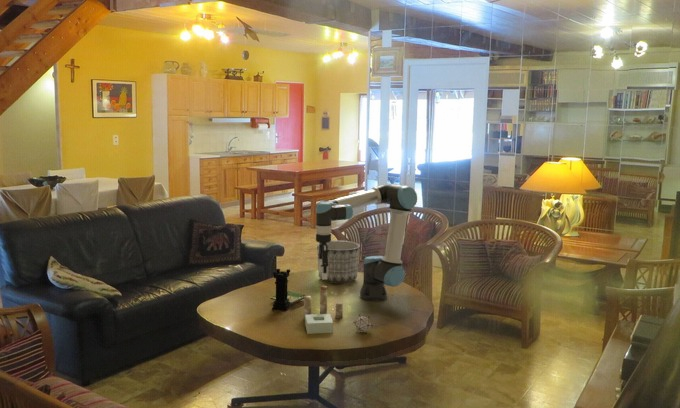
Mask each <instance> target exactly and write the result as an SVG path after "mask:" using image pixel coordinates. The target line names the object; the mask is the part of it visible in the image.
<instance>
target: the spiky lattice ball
mask: <svg viewBox="0 0 680 408" xmlns="http://www.w3.org/2000/svg"><path fill="white" fill-rule="evenodd" d="M358 316H359V317H357V319H356V320H355V321H353V322H352V324H354V325H355V327H356V328H355V329H356V333H358V332H360V333H361V332H362V333H365V334H366V335H367V334H368V333H367V332H368V331H369V330H370V328H371V327H373V326H374V325H373V324H372V323H371V320H370V315H368V317H367V316H363V315H361V314H360V313H359V315H358Z"/></svg>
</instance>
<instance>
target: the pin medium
mask: <svg viewBox="0 0 680 408" xmlns="http://www.w3.org/2000/svg"><path fill="white" fill-rule="evenodd" d="M311 314H312V296H311V295H304V297H303V319H304V320H305V315H311Z"/></svg>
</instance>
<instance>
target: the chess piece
mask: <svg viewBox="0 0 680 408" xmlns="http://www.w3.org/2000/svg"><path fill="white" fill-rule="evenodd" d="M290 272H291V269H286V270H285V271H282V270H281V269H280V268H276V270H275V271H274V270H273V272H272V275H273V278H274V279H275V282H274V284H275V300H274V301H273V305H272V307H271V310H273V311H282V312H284V311H285V312H287V311H288V310H289V309H290V308H291V307H292V304H291V301H290V299H289V298H288V283H289V279H288V277H290Z"/></svg>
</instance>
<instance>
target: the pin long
mask: <svg viewBox="0 0 680 408" xmlns="http://www.w3.org/2000/svg"><path fill="white" fill-rule="evenodd" d="M319 314H328V286H327V285H320V287H319Z"/></svg>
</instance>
